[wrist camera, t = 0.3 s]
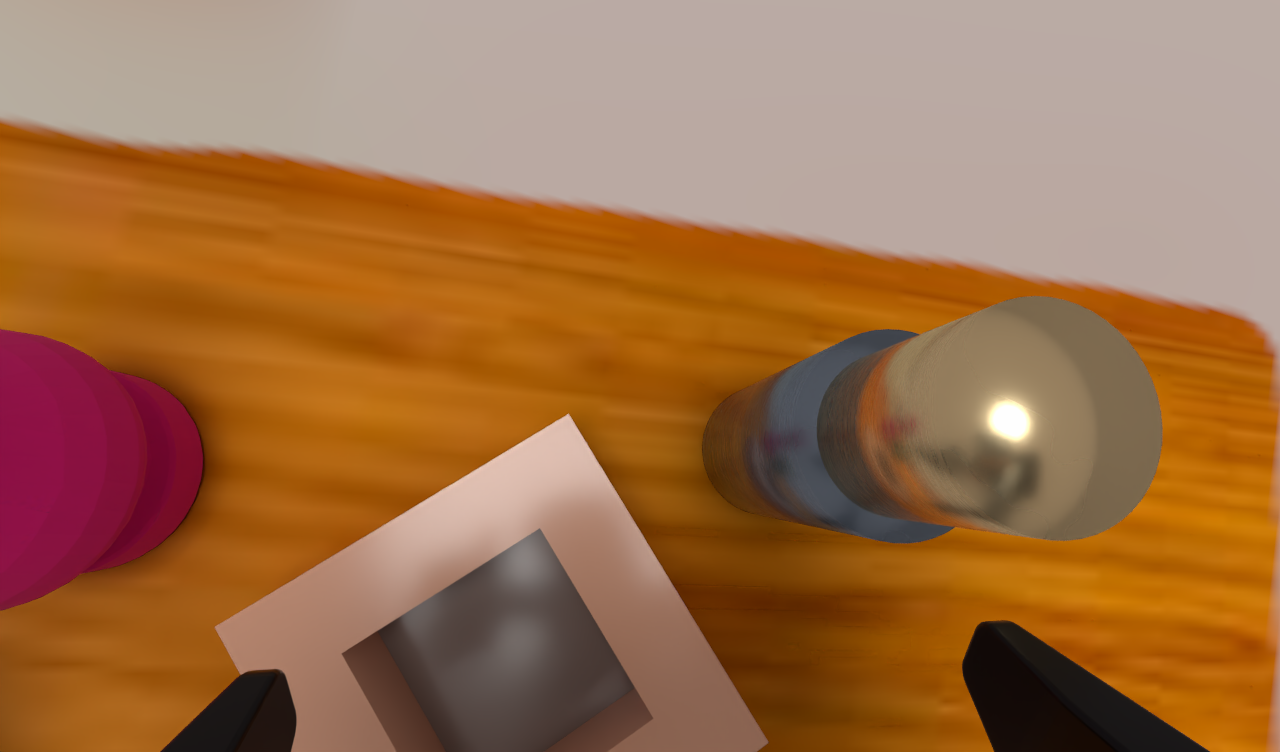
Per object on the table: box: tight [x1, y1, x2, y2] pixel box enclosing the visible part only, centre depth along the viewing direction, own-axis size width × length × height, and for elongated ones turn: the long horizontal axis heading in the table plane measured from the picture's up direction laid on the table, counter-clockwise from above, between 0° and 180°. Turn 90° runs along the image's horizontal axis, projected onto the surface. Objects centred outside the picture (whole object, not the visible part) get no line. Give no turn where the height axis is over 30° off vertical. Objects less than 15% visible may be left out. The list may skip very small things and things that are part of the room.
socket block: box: [215, 414, 769, 752], centre depth 20 cm, size 11×11×4 cm
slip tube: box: [702, 296, 1162, 543], centre depth 16 cm, size 5×5×14 cm
